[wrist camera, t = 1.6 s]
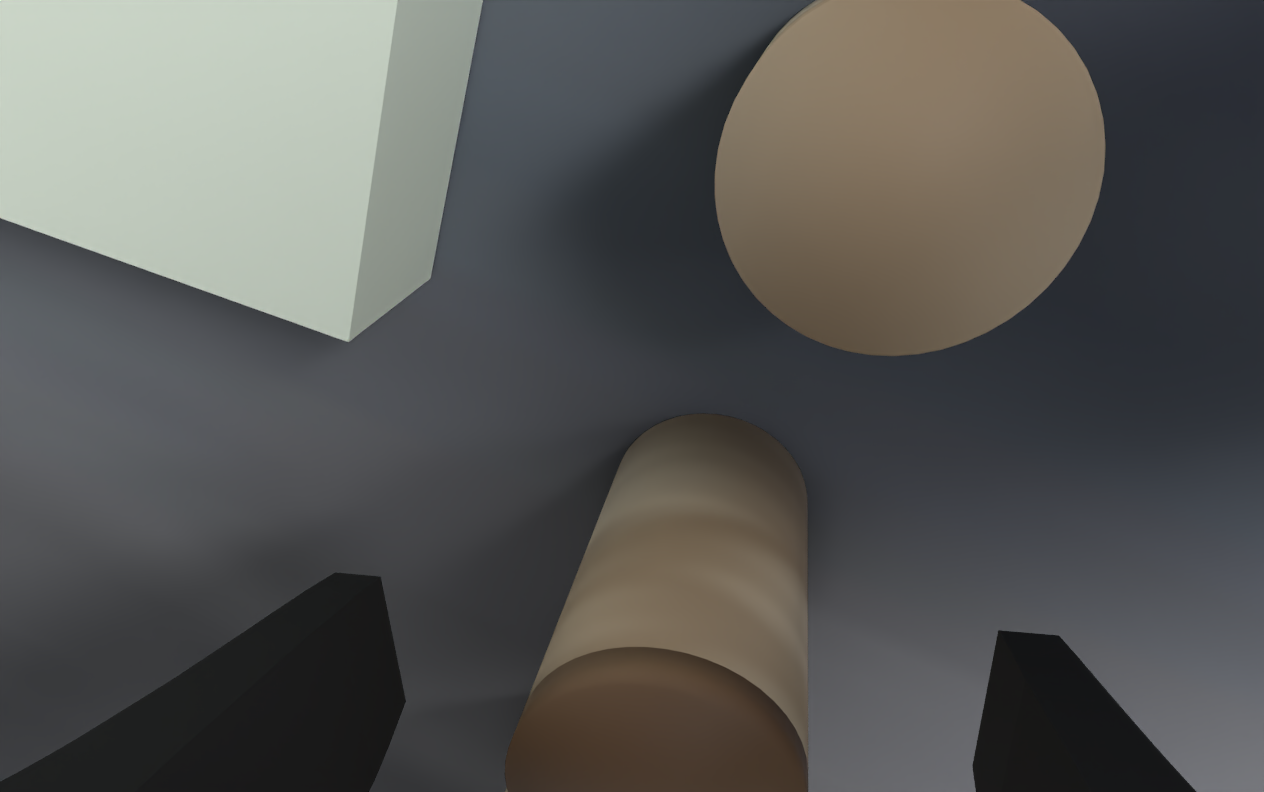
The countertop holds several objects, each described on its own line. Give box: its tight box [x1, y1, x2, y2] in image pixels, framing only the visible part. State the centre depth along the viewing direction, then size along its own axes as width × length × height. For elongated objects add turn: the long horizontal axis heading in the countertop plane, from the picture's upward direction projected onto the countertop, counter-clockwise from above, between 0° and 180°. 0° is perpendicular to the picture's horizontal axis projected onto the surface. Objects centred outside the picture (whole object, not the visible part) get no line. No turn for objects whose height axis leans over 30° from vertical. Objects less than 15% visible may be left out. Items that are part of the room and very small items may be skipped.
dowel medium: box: [505, 414, 808, 792], centre depth 11 cm, size 3×3×6 cm
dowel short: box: [715, 0, 1106, 356], centre depth 9 cm, size 3×3×4 cm
